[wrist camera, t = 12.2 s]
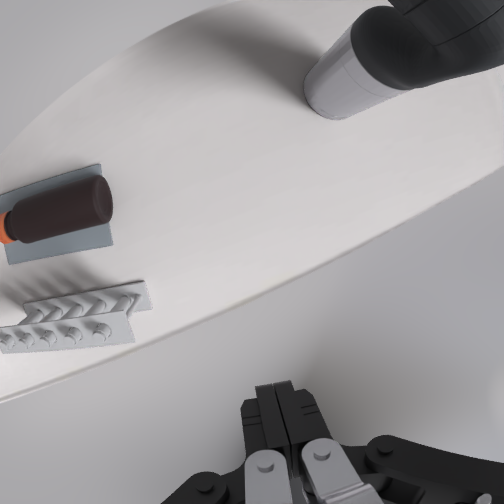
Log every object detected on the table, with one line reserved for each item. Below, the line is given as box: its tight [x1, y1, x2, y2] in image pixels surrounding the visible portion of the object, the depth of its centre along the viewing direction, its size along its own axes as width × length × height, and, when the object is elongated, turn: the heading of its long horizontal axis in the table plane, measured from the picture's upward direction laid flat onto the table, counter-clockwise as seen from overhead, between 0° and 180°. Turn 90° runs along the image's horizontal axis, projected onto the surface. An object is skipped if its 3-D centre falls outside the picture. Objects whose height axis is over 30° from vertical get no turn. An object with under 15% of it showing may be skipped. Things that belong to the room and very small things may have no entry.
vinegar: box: [0, 175, 113, 244], centre depth 35 cm, size 7×7×20 cm
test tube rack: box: [0, 281, 153, 354], centre depth 36 cm, size 25×4×13 cm, turn 100°
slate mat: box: [0, 164, 113, 265], centre depth 38 cm, size 22×12×1 cm, turn 97°
